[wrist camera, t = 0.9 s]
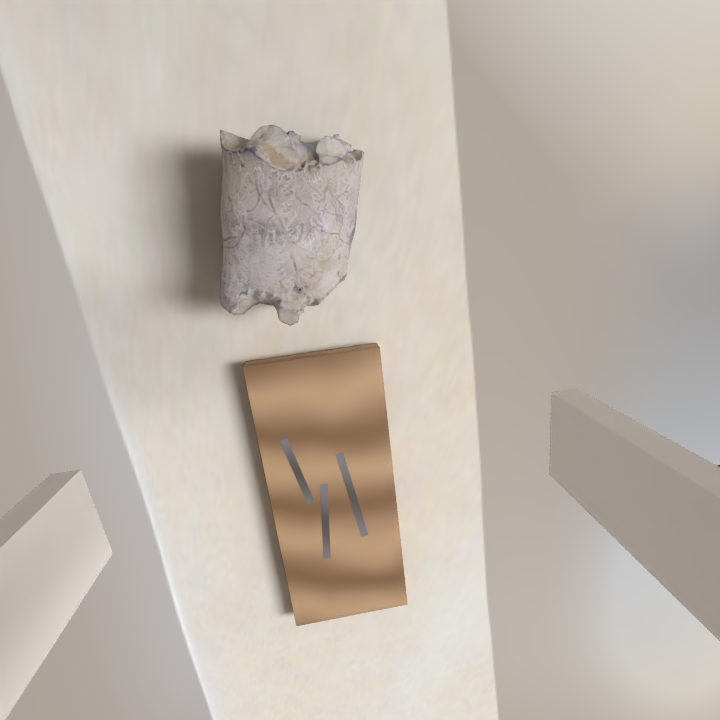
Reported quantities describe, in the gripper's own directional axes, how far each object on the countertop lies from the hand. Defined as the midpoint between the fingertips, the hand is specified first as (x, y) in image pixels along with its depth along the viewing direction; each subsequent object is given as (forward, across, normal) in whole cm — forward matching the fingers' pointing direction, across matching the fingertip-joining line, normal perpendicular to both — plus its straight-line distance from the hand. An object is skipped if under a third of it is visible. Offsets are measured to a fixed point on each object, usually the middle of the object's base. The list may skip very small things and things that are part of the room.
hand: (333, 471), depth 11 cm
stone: (+20, -1, +7) cm, 21 cm away
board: (+19, -1, -14) cm, 24 cm away
